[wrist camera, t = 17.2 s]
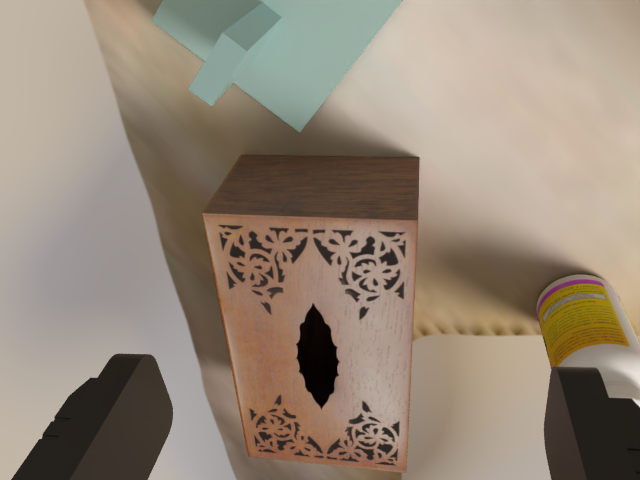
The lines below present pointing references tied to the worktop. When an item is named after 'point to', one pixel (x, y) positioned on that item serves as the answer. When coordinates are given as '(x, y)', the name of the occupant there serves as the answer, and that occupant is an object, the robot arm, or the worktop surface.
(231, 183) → the tissue box cover
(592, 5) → the worktop surface
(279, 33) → the lid
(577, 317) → the supplement bottle
